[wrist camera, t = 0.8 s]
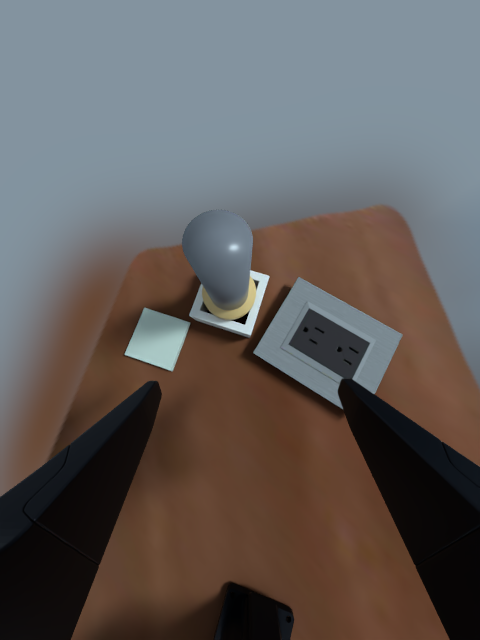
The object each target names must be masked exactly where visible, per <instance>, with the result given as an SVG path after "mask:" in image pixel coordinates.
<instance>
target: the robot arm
mask: <svg viewBox="0 0 480 640" xmlns="http://www.w3.org/2000/svg"><path fill="white" fill-rule="evenodd" d="M161 395H162V393H161V389H160V386H159V383H158V382H157V381H148V382H147V383H145V384H144V385H143V386H142V387H141V388H139V389H138V390H137V391H136V392H134V393H133V394H132V395H131V396H129V397H128V398H127V399H126V400H124V401H123V402H122V403H121V404H119V405H118V406H117V407H116V408H114V409H113V410H112V411H111V412H109V413H108V414H107V415H106V416H104V417H103V418H102V419H101V420H99V421H98V422H97V423H96V424H94V425H93V426H92V427H91V428H89V429H88V430H87V431H86V432H84V433H83V434H82V435H81V436H79V437H78V438H77V439H76V440H75V441H73V442H72V443H71V444H70V445H68V446H67V447H66V448H64V449H63V450H62V451H61V452H59V453H58V454H57V455H56V456H54V457H53V458H52V459H51V460H49V461H48V462H47V463H45V464H44V465H43V466H42V467H40V468H39V469H38V470H36V471H35V472H34V473H32V474H31V475H30V476H28V477H27V478H26V479H24V480H23V481H21V483H19V484H17V485H16V486H15V487H14V488H12V489H10V490H9V491H8V492H7V493H5V494H4V495H3V496H1V497H0V640H71V637H72V635H73V632H74V629H75V627H76V624H77V622H78V619H79V617H80V614H81V612H82V609H83V606H84V604H85V601H86V599H87V596H88V594H89V591H90V588H91V586H92V583H93V581H94V578H95V576H96V573H97V570H98V568H99V566H98V565H99V564H100V562H101V560H102V557H103V555H104V552H105V549H106V547H107V544H108V542H109V539H110V537H111V534H112V531H113V529H114V526H115V524H116V521H117V519H118V516H119V513H120V511H121V508H122V506H123V503H124V501H125V498H126V495H127V493H128V490H129V488H130V485H131V483H132V480H133V477H134V475H135V472H136V470H137V467H138V465H139V462H140V460H141V457H142V454H143V452H144V449H145V447H146V444H147V442H148V439H149V436H150V434H151V431H152V428H153V425H154V421H155V418H156V414H157V411H158V407H159V403H160V400H161ZM338 396H339V399H340V402H341V404H342V407H343V410H344V413H345V416H346V418H347V421H348V424H349V426H350V429H351V431H352V433H353V435H354V437H355V440H356V442H357V444H358V446H359V448H360V450H361V452H362V454H363V456H364V459H365V461H366V463H367V465H368V467H369V469H370V471H371V473H372V476H373V478H374V480H375V482H376V484H377V486H378V488H379V490H380V492H381V495H382V497H383V499H384V501H385V503H386V505H387V507H388V509H389V512H390V514H391V516H392V518H393V520H394V522H395V524H396V526H397V529H398V531H399V533H400V535H401V537H402V539H403V541H404V543H405V545H406V548H407V550H408V552H409V554H410V556H411V558H412V560H413V562H414V564H415V565H416V569H417V571H418V573H419V575H420V578H421V580H422V582H423V584H424V586H425V588H426V590H427V592H428V595H429V597H430V599H431V601H432V603H433V605H434V607H435V609H436V611H437V614H438V616H439V618H440V620H441V622H442V624H443V626H444V628H445V631H446V633H447V635H448V637H449V639H450V640H480V467H479V466H478V465H476V464H475V463H473V462H472V461H470V460H469V459H467V458H466V457H464V456H463V455H461V454H460V453H458V452H457V451H455V450H454V449H453V448H451V447H450V446H448V445H447V444H445V443H444V442H441V440H439V439H438V438H437V437H435V436H434V435H432V434H431V433H429V432H428V431H426V430H425V429H424V428H422V427H421V426H419V425H418V424H416V423H415V422H413V421H412V420H411V419H409V418H408V417H406V416H405V415H403V414H402V413H400V412H399V411H398V410H396V409H395V408H393V407H392V406H390V405H389V404H388V403H386V402H385V401H383V400H382V399H380V398H379V397H377V396H376V395H375V394H373V393H372V392H370V391H369V390H367V389H366V388H364V387H363V386H362V385H360V384H359V383H357V382H356V381H354V380H353V379H351V378H343V379H341V381H340V384H339V387H338ZM231 592H234V593H231ZM287 616H289V617H287ZM293 623H294V616H293V612H292V609H291V608H290V607H288V606H285V605H283V604H281V603H278V602H276V601H274V600H271V599H269V598H267V597H264V596H262V595H260V594H257V593H255V592H253V591H250V590H248V589H246V588H243V587H241V586H239V585H236V584H234V583H231V584H230V585H229V586H228V588H227V592H226V595H225V599H224V603H223V606H222V610H221V614H220V617H219V621H218V625H217V628H216V632H215V636H214V639H213V640H290V637H291V632H292V628H293Z"/></svg>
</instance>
